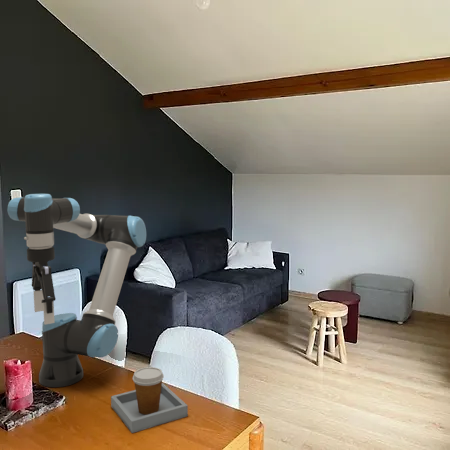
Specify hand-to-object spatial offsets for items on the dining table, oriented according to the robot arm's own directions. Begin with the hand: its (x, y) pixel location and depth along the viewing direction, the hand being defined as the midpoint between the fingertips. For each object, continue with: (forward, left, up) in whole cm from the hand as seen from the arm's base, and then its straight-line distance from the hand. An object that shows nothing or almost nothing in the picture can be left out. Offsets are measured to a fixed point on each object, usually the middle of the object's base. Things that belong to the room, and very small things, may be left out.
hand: (44, 317), depth 140 cm
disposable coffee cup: (+14, +27, -31) cm, 43 cm away
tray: (+13, +27, -31) cm, 44 cm away
